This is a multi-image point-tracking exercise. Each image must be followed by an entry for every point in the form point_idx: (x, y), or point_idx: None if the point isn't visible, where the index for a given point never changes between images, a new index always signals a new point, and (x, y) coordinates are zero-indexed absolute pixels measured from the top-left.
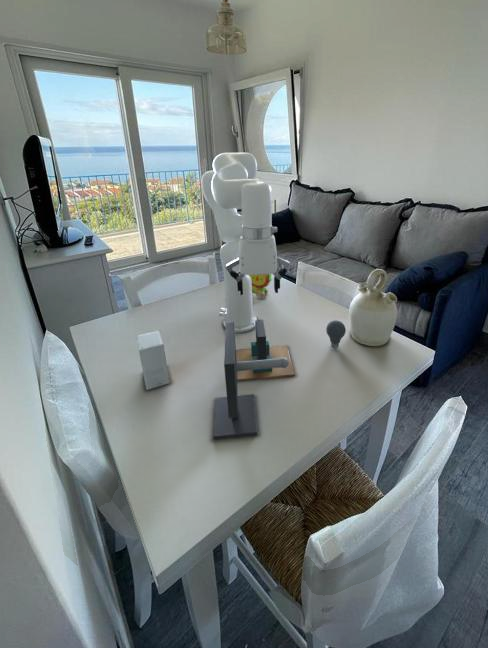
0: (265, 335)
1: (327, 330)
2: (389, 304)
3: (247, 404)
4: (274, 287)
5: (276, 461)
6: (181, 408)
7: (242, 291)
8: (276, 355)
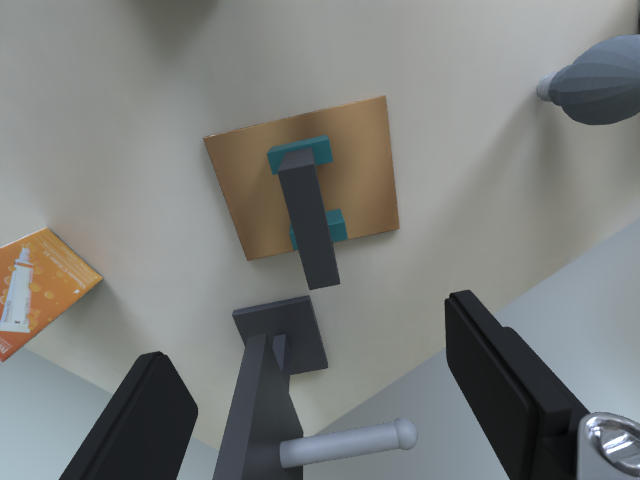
0: (337, 280)
1: (573, 99)
2: None
3: (301, 323)
4: (455, 332)
5: (359, 390)
6: (175, 331)
7: (186, 438)
8: (351, 154)
